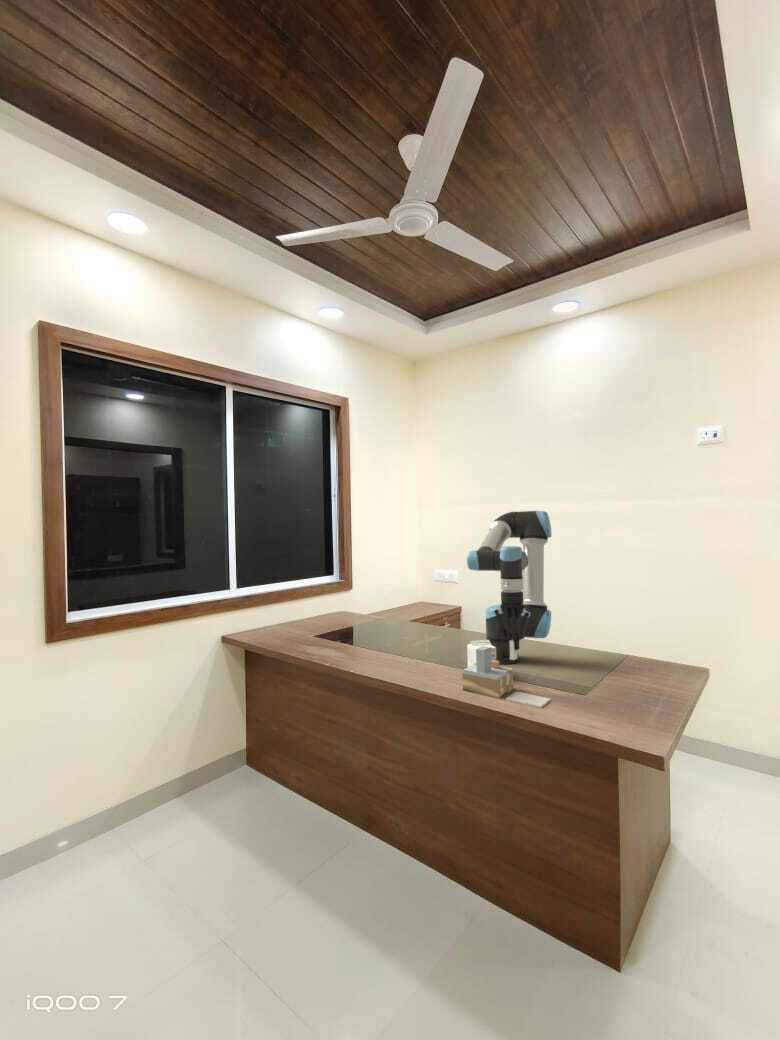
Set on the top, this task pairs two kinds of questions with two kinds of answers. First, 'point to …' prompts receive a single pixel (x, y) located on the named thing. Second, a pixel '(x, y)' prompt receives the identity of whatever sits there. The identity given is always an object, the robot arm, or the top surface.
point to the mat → (528, 699)
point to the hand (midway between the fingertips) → (513, 658)
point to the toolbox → (489, 684)
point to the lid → (485, 665)
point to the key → (494, 664)
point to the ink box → (474, 645)
